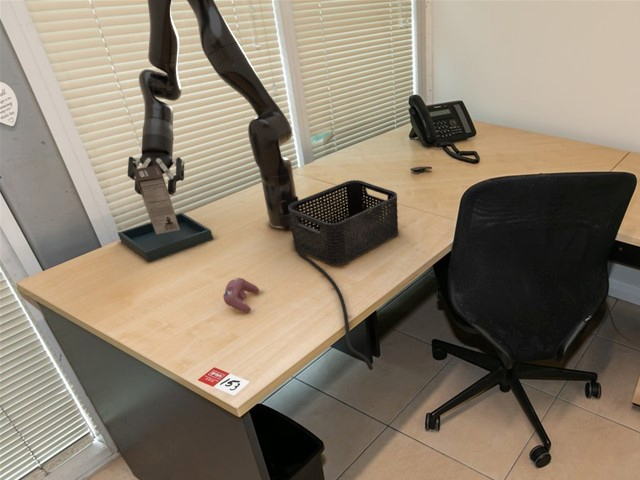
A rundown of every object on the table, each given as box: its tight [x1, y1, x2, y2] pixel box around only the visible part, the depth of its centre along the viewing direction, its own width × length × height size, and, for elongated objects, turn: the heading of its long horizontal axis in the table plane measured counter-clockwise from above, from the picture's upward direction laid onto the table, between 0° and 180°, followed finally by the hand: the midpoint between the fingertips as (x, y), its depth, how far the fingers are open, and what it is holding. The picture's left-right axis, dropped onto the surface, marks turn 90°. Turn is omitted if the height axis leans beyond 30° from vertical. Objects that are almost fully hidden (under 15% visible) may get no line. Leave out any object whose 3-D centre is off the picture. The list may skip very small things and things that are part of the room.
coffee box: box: [133, 165, 180, 235], centre depth 143 cm, size 9×6×16 cm
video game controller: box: [222, 277, 260, 314], centre depth 127 cm, size 10×5×7 cm, turn 5°
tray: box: [117, 212, 214, 263], centre depth 150 cm, size 17×19×3 cm
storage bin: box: [288, 179, 399, 267], centre depth 153 cm, size 29×19×13 cm
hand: (155, 193), depth 144 cm, fingers closed on coffee box, 7 cm apart
